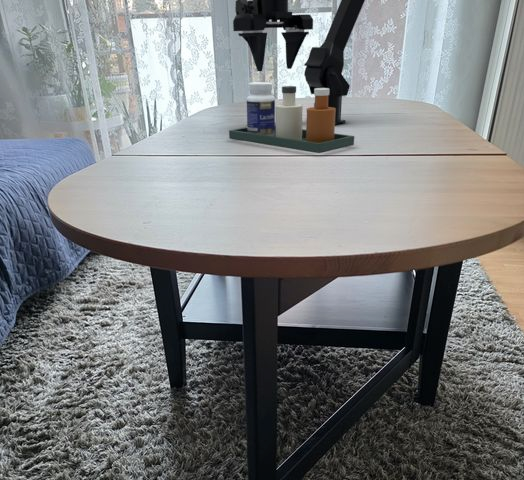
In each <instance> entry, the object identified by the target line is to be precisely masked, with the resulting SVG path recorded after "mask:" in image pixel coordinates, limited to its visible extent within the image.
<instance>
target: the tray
mask: <svg viewBox="0 0 524 480" xmlns="http://www.w3.org/2000/svg"><path fill="white" fill-rule="evenodd" d="M228 138H229V139H230V140H231V139H232V140H237V141H243V142H247V143H248V142H249V143H256V144H262V145H267V146H273V147H280V148H285V149H292V150H298V151H303V152H309V153H316V154H321V153H325V152H330V151H334V150H339V149H342V148H346V147H350V146H354V145H355V135H350V134H344V133H343V134H342V133H336V132H334V140H331V141H326V142H322V143H315V142H308V141H306V129H303V128H302V140H295V139H288V138H281V137H276V125H275V135H274V136H268V135H261V134H254V133H248V132H247V126H246V127H240V128H235V129H229V130H228Z"/></svg>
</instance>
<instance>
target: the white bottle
mask: <svg viewBox="0 0 524 480" xmlns="http://www.w3.org/2000/svg"><path fill="white" fill-rule="evenodd" d="M281 93H282V104H281V103H280V104H275V126H276V137H281V138H288V139H295V140H302V129H303V108H304V107H303V104H300V103H296V93H297V86H295V85H285V86H281Z"/></svg>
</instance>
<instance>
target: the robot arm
mask: <svg viewBox="0 0 524 480" xmlns="http://www.w3.org/2000/svg"><path fill="white" fill-rule="evenodd" d="M365 2H366V0H340V3H339V5H338V7H337V10H336V12H335V14H334V17H333V20H332V22H331V24H330V27H329V29H328V31H327V34H326V36H325V39H324V40H323V43H322V44H321V45H320V46H312V47H311V49H310V51H309V55H308V57H307V60H306V62H305V63H304V64H303V65H304V67H305V69H304V78H305V81H306V84H307V85H308V89H309V92H310V94H311V95H314V89H316V88H329V95H328V107H333V108H335V109H336V111H335V125H338V124H343V123H347V122H346V121H347V120H346V119H342V102H343V97H345V96H346V97H347V96H348V93H349V91H350V89H351V85H350V84H349V82H348V81H347V79H346V78H345V77H344V75H343V74H342V73H343V70H344V67H345V53H344V52H345V49H346V46H347V44H348V42H349V39H350V37H351V34H352V32H353V30H354V28H355V25H356V24H357V20H358V18H359V16H360V13H361V11H362V8H363V6H364V4H365ZM234 9H235V16H234V18H233V21H232V25H233V26H232V28H233V32H238V33H237V34H238V37H241V38H243V40H244V41H245V42H246V43H247V45H248V48H249V50H250V52H251V55H252V59H253V61H254V65H255V68H256V70H257V72H262V71H263V68H264V65H265V64H264V62H265V54H266V46H267V39H268V32H264V30H265V29H283V31H282V32H281V36H282V37H283V39H284V42H285V64H286V69H287V70H291V69H292V68H293V66H294V64H295V62H296V58H297V56H298V54H299V51H300V49H301V47H302V45H303V43H304V41H305V39H306V37H307V36H308V35H310V30H313V29H314V19H313V17H312V15H311V14H301V13H300V14H299V13H298V14H293V11H289V0H235V7H234ZM308 30H309V31H308ZM284 31H285V32H284ZM240 32H241V33H240ZM313 107H315V102H313Z"/></svg>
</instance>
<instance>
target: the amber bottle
mask: <svg viewBox="0 0 524 480" xmlns="http://www.w3.org/2000/svg"><path fill="white" fill-rule="evenodd" d="M313 95H314V103H315V107H314V106H311V107H308V108H306V125H305V126H306V129H305V130H306V141H308V142H315V143H322V142H326V141H331V140H334V133H335V130H336V129H335V127H336V124H335V111H336V109H335V108H333V107H328V95H329V88H316V89H314V94H313Z"/></svg>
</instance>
